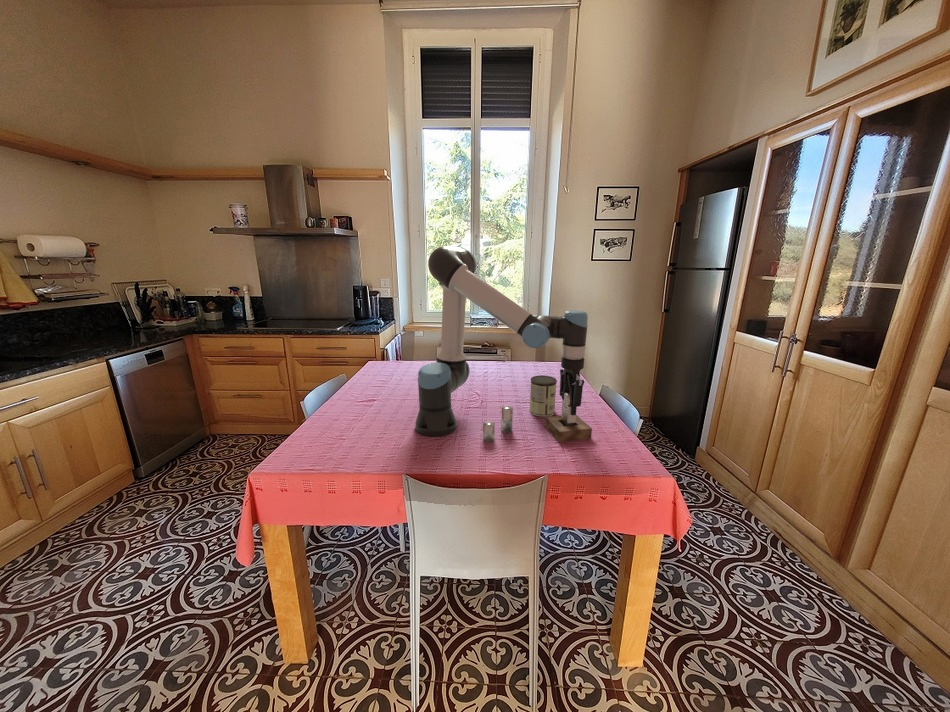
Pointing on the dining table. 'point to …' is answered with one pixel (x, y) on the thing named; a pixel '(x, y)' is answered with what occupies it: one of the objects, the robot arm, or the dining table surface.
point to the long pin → (566, 410)
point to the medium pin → (506, 419)
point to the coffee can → (542, 396)
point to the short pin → (488, 431)
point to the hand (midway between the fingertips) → (568, 419)
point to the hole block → (568, 429)
